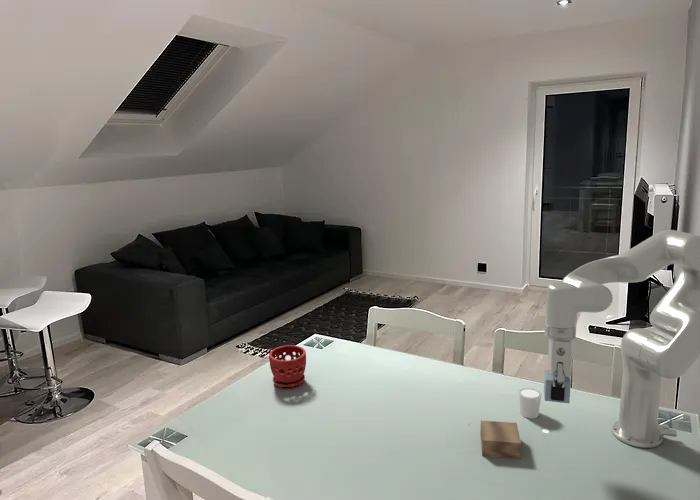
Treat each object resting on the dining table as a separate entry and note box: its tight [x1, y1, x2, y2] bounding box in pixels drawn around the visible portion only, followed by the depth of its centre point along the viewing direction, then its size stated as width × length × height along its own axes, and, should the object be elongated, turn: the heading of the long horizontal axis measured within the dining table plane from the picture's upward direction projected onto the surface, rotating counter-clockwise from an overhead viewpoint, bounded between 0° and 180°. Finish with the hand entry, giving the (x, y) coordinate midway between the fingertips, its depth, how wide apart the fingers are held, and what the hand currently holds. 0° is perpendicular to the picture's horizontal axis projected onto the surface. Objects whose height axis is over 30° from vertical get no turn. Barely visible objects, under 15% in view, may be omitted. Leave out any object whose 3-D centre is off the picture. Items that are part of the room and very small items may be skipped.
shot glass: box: [517, 387, 542, 419], centre depth 161 cm, size 7×7×7 cm
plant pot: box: [268, 344, 307, 388], centre depth 186 cm, size 13×13×12 cm
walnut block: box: [480, 420, 522, 460], centre depth 145 cm, size 10×10×5 cm
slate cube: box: [543, 369, 572, 404], centre depth 137 cm, size 6×6×6 cm
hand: (556, 393), depth 138 cm, fingers closed on slate cube, 6 cm apart
